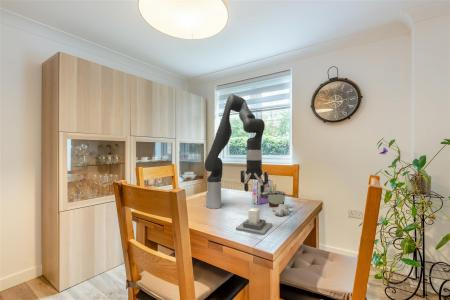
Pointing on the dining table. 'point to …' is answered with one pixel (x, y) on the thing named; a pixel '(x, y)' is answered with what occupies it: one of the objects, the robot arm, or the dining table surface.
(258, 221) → the plug
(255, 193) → the candy box
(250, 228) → the socket plate
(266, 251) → the dining table surface
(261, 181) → the robot arm
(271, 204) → the food container
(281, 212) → the bunny figurine
